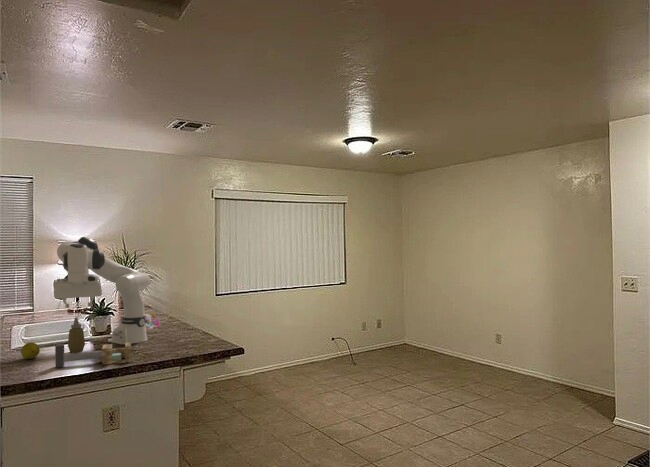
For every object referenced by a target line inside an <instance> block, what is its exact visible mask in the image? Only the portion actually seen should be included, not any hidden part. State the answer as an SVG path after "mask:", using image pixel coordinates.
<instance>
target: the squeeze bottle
mask: <svg viewBox="0 0 650 467" xmlns="http://www.w3.org/2000/svg"><path fill="white" fill-rule="evenodd" d="M85 345H86V342H85V333H84V328H82V324H81V323H79V319H78V317H77V316H76V317H74V320H73V324H71V325H70V329H69V330H68V339H67V348H68V350H69V352H70V353H80V352H84V349H85ZM70 353H69V354H70Z"/></svg>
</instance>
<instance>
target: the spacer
mask: <svg viewBox="0 0 650 467" xmlns="http://www.w3.org/2000/svg"><path fill="white" fill-rule="evenodd" d="M115 360H122V359H121V353H112V361H115Z"/></svg>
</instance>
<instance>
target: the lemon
mask: <svg viewBox="0 0 650 467" xmlns="http://www.w3.org/2000/svg"><path fill="white" fill-rule="evenodd" d="M20 354H21V356H22V358H24V359H26V360H31V359H34V358H36V357H37V356H39V354H40V346H39V345H38V344H37V343H35V342H28V343H27V342H26V343H25V344H24V345H23V346H22V348H21V349H20Z"/></svg>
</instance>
